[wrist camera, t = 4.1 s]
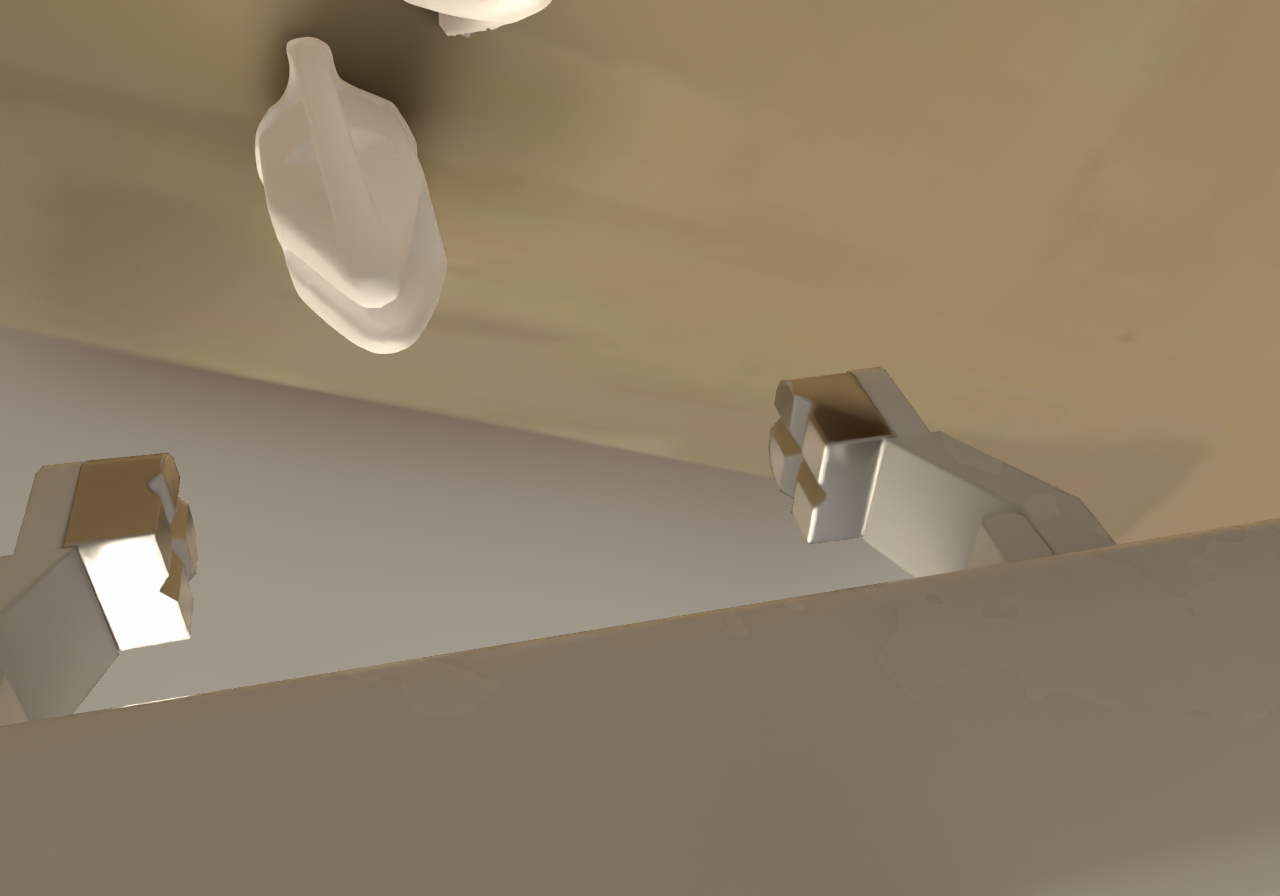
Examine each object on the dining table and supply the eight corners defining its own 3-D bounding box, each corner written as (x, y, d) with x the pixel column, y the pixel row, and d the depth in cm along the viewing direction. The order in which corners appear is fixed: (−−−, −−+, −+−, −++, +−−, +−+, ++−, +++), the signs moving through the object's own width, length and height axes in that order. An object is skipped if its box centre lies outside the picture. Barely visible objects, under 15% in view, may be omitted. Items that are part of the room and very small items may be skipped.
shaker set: (377, 246, 31) (416, 501, 23) (227, 198, 29) (212, 458, 21) (554, -181, 26) (688, -42, 17) (382, -277, 24) (443, -170, 15)
